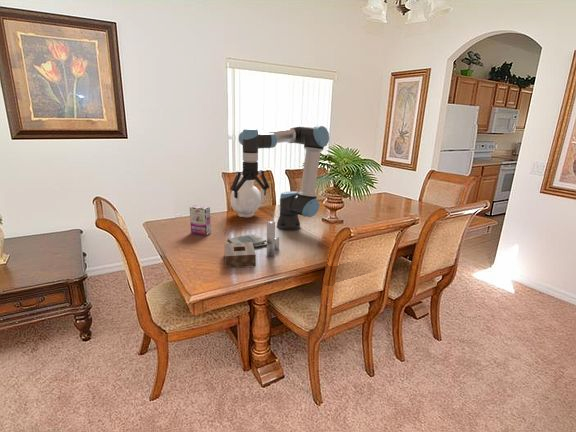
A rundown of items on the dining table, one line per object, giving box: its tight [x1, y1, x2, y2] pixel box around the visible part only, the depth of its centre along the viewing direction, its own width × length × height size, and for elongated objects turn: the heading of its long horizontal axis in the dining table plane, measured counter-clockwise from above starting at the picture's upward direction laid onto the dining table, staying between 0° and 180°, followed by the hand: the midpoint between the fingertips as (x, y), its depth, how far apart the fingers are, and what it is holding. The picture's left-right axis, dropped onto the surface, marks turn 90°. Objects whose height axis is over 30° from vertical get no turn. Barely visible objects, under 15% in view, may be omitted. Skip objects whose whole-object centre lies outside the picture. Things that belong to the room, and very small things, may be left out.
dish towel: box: [227, 233, 267, 250], centre depth 186 cm, size 19×18×3 cm
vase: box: [230, 175, 262, 218], centre depth 232 cm, size 19×21×30 cm
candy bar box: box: [189, 205, 212, 237], centre depth 197 cm, size 11×5×16 cm, turn 70°
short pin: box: [275, 236, 280, 251], centre depth 179 cm, size 4×4×6 cm
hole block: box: [224, 242, 257, 269], centre depth 164 cm, size 14×16×6 cm
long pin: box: [266, 220, 276, 258], centre depth 168 cm, size 4×4×18 cm
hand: (250, 203), depth 170 cm, fingers open, 13 cm apart
